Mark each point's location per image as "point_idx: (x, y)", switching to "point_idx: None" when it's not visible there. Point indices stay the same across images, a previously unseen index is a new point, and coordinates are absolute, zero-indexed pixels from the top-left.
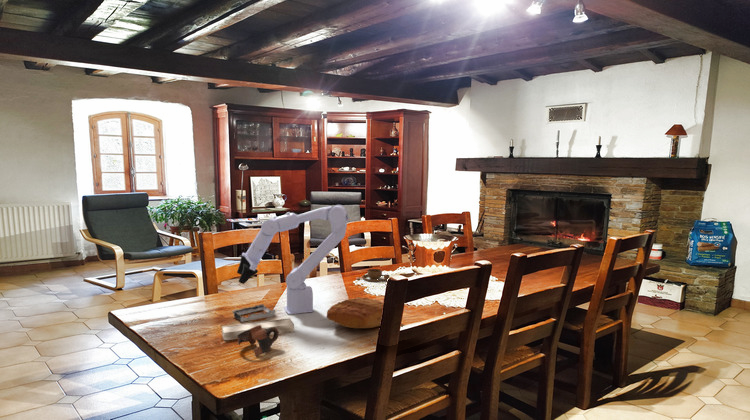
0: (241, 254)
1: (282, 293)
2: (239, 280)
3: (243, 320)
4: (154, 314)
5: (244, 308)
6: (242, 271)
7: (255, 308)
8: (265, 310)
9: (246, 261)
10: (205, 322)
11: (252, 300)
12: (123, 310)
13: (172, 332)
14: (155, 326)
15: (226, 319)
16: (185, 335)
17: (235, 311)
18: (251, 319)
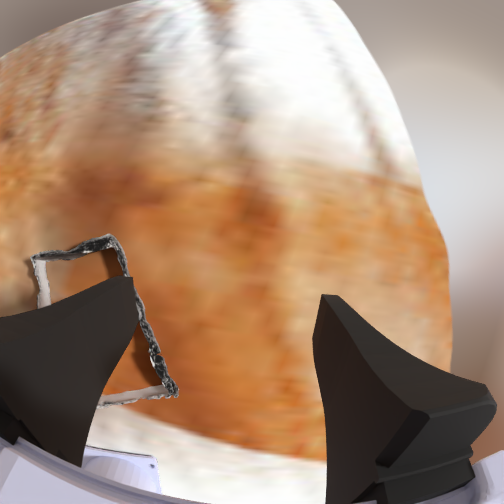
0: (481, 403)
1: None
2: (108, 279)
3: (43, 270)
4: (272, 28)
5: (139, 300)
6: (56, 317)
7: (152, 353)
8: (145, 390)
9: (351, 442)
10: (103, 133)
11: None
12: (330, 2)
13: (78, 56)
14: (155, 22)
15: (96, 210)
16: (36, 87)
17: (117, 251)
18: (50, 304)
